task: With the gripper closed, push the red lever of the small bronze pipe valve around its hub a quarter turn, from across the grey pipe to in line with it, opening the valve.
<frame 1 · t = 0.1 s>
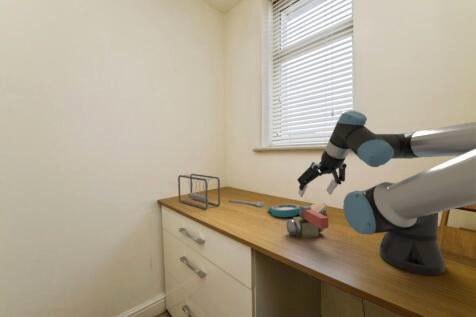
hand: (314, 193, 86), 15 cm above the table, tool tilted 35°, fingers open, 13 cm apart
newton's cradle: (198, 204, 129), on the table
adjustable wrench: (247, 204, 128), on the table
butterfly valve: (295, 216, 104), on the table
lever: (312, 216, 77), point 9 cm above the table, hinge at 0.0°
valve body: (305, 234, 82), on the table
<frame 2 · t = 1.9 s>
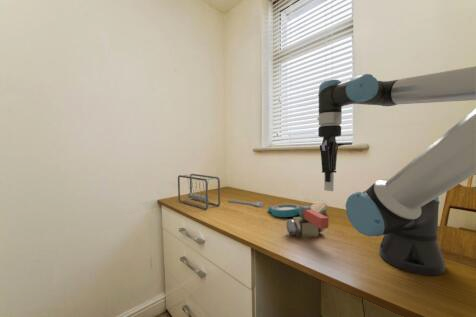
hand: (328, 190, 75), 19 cm above the table, tool pointing down, fingers closed
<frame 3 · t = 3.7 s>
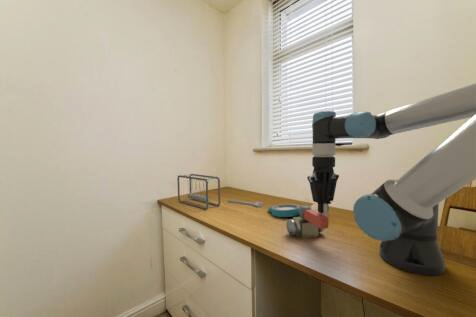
hand: (323, 220, 74), 8 cm above the table, tool pointing down, fingers closed
lever: (312, 216, 77), point 9 cm above the table, hinge at 0.0°, touching gripper
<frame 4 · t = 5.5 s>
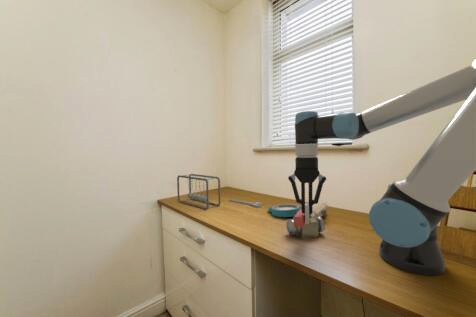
hand: (307, 222, 73), 8 cm above the table, tool pointing down, fingers closed
lever: (302, 215, 77), point 9 cm above the table, hinge at 43.0°, touching gripper
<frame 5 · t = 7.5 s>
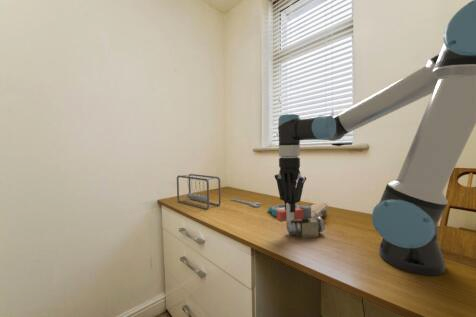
hand: (290, 219, 76), 8 cm above the table, tool pointing down, fingers closed
lever: (294, 213, 80), point 9 cm above the table, hinge at 85.4°, touching gripper
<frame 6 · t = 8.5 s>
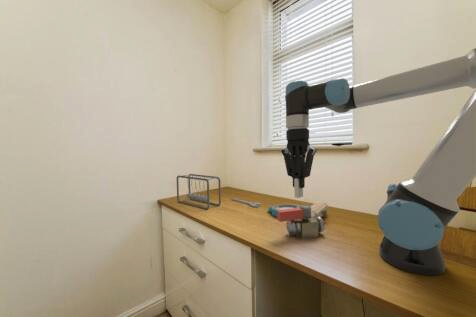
hand: (298, 196, 71), 18 cm above the table, tool pointing down, fingers closed
lever: (294, 213, 80), point 9 cm above the table, hinge at 85.4°
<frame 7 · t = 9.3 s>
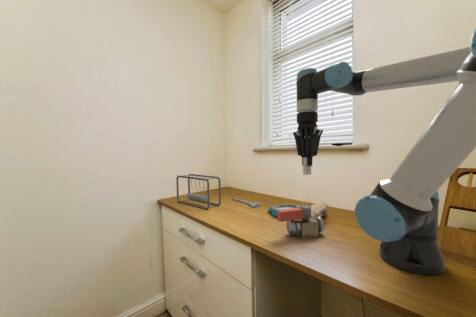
hand: (307, 174, 78), 24 cm above the table, tool pointing down, fingers closed
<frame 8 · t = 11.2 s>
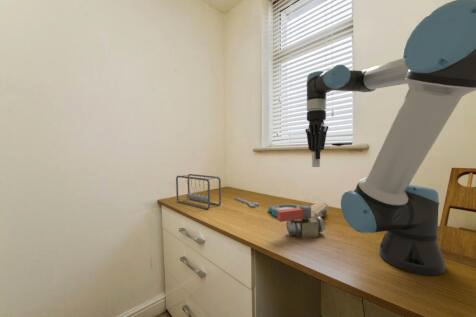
hand: (315, 166, 87), 26 cm above the table, tool pointing down, fingers closed
at the end: lever at +85° (first picture: +0°); lever touching nothing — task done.
